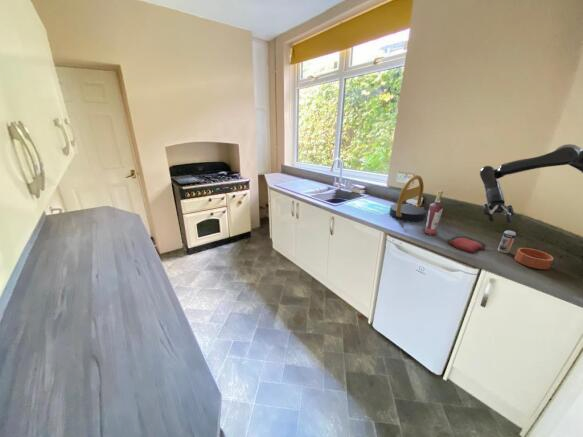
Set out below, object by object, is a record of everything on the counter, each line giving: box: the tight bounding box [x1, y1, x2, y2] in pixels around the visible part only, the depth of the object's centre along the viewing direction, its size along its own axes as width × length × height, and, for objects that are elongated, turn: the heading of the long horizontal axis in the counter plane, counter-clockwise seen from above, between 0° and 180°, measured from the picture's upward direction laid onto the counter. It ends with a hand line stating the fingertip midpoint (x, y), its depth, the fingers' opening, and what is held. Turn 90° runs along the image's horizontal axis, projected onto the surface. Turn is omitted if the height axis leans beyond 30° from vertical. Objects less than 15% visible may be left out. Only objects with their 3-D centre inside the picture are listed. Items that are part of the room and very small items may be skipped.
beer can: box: [497, 229, 517, 254], centre depth 126 cm, size 5×5×12 cm
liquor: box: [423, 189, 445, 236], centre depth 145 cm, size 7×7×28 cm
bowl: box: [514, 247, 554, 270], centre depth 116 cm, size 13×13×6 cm
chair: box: [388, 174, 427, 223], centre depth 173 cm, size 25×35×32 cm
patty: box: [447, 237, 484, 254], centre depth 134 cm, size 18×14×2 cm
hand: (500, 221), depth 131 cm, fingers open, 8 cm apart
